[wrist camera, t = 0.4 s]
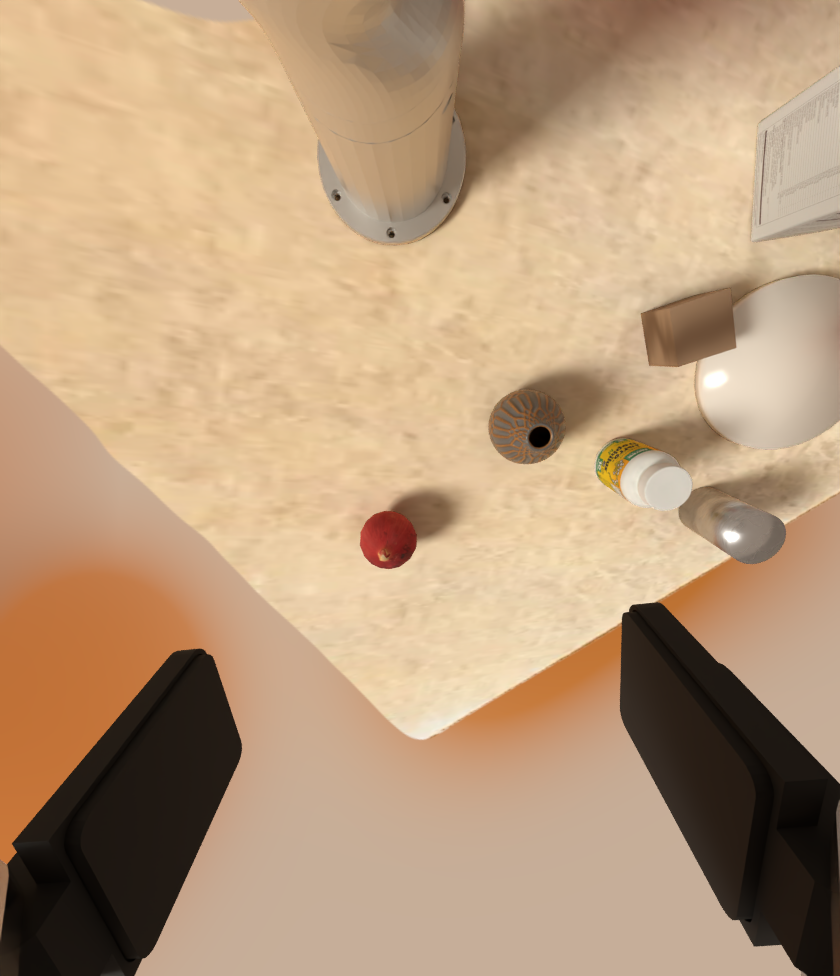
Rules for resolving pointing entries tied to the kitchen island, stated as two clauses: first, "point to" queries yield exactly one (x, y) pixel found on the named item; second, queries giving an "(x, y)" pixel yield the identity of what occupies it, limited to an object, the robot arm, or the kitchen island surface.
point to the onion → (388, 540)
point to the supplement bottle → (643, 474)
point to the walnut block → (690, 329)
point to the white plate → (777, 366)
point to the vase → (526, 426)
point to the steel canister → (733, 525)
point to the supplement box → (799, 165)
